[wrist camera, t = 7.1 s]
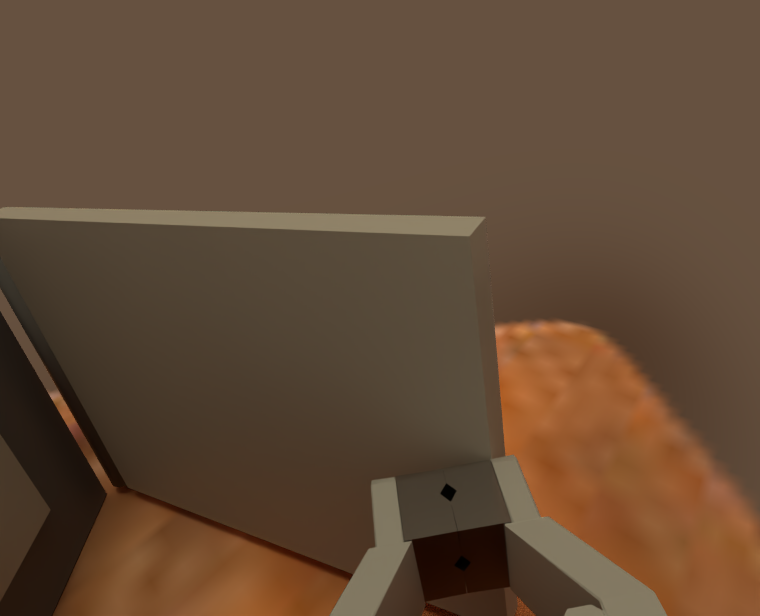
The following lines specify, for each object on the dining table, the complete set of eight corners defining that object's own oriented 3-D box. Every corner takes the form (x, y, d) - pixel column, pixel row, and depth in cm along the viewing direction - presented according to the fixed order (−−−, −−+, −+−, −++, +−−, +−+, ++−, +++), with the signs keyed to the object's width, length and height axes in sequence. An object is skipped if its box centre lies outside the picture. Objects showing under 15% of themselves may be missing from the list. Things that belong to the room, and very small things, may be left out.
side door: (522, 595, 15) (492, 202, 10) (507, 640, 14) (466, 232, 9) (132, 460, 23) (-6, 198, 17) (106, 483, 22) (-49, 214, 16)
